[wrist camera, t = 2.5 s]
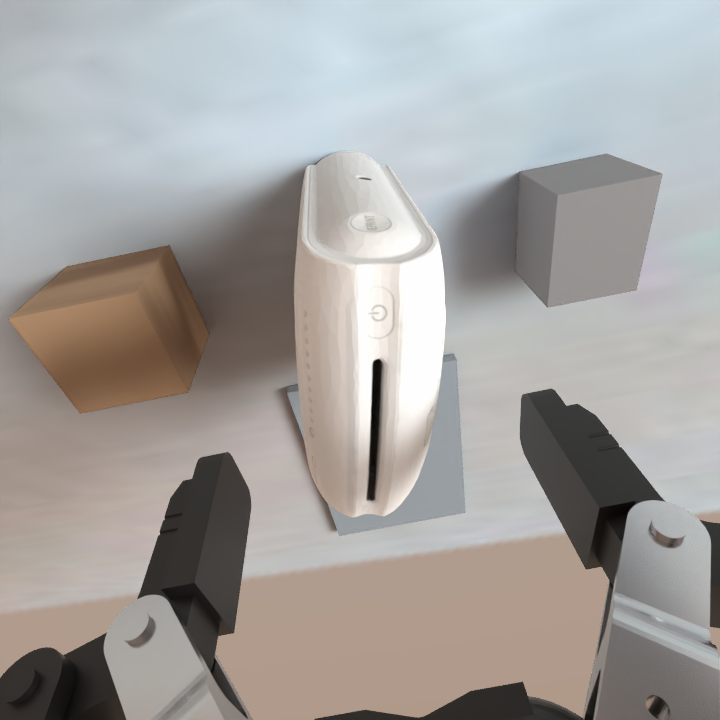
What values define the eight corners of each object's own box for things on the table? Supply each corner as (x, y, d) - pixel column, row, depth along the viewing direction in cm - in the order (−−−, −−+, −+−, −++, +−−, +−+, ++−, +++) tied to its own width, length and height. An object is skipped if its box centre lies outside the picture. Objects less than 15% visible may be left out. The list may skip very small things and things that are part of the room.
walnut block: (67, 265, 21) (7, 318, 17) (170, 244, 20) (134, 293, 16) (120, 350, 24) (80, 413, 20) (209, 332, 23) (188, 392, 19)
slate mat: (287, 386, 26) (286, 393, 25) (453, 354, 26) (456, 360, 25) (338, 529, 35) (339, 535, 34) (463, 506, 34) (465, 512, 34)
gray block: (518, 171, 20) (557, 195, 17) (605, 153, 20) (662, 173, 17) (514, 270, 23) (547, 307, 20) (590, 255, 23) (636, 290, 20)
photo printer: (295, 146, 18) (275, 264, 8) (396, 146, 19) (491, 260, 9) (308, 348, 24) (305, 557, 14) (384, 345, 25) (433, 547, 15)
